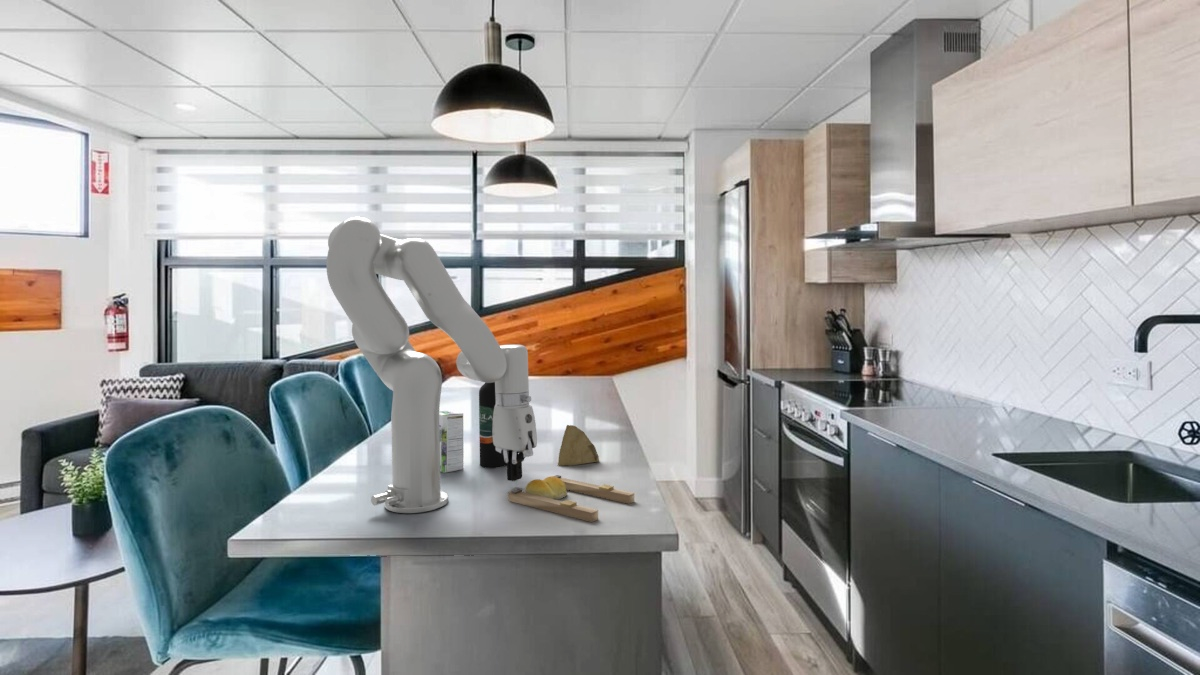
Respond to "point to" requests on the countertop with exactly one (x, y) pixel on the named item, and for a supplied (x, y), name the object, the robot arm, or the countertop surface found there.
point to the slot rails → (569, 506)
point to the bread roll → (547, 488)
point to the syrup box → (451, 441)
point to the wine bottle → (488, 428)
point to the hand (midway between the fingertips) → (514, 479)
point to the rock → (576, 448)
